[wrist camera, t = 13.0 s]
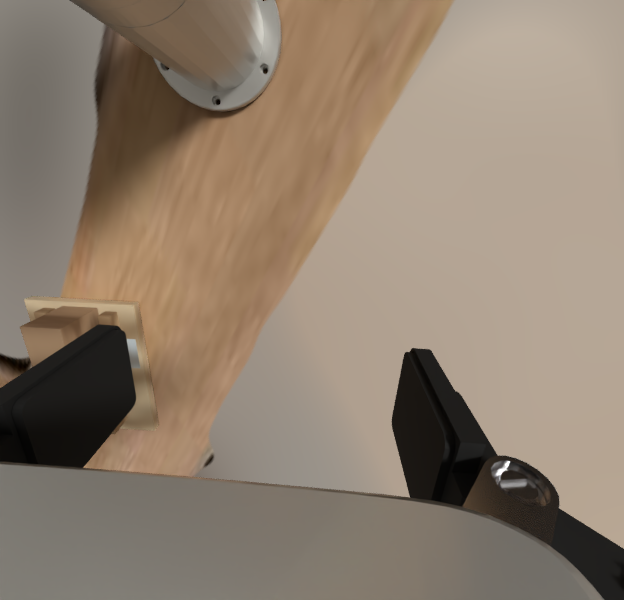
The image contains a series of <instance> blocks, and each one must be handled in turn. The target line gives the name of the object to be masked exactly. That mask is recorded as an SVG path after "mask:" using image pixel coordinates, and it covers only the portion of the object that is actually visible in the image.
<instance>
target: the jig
mask: <svg viewBox="0 0 624 600" xmlns="http://www.w3.org/2000/svg"><path fill="white" fill-rule="evenodd" d="M24 301H25V304H26V307H27V311H28V314H29V317H30V321H33V320H35V319H37V318H39V317H41V316H43V315H45V314H47V313H49V312H51V311H53V310H55V309H57V308H59V307H61V306H73V307H90V308H97V309H98V313H99V315H98V316H97V317H98V321H99V324H102V325H115V326H119V327H120V328H121V330H123V331H124V332H125V334H126V339H127V345H128V350H129V356H130V362H131V368H132V374H133V380H134V386H135V392H136V402H135V405H134V407H133V408H132V409H131V411H130V412H129V413H128V414H127V415H126V417H125V418H124V419H123V420H122V421H121V423H120V424H119V425H118V426H117V427H116V429H115V430H114V431H113V432H112V433H111V434H115V433H116V432H117V431H118V430H119V429H134V430H149V431H155V430H156V429H157V427H158V426H159V422H158V416H157V410H156V404H155V398H154V392H153V386H152V380H151V374H150V368H149V362H148V356H147V350H146V344H145V338H144V332H143V326H142V320H141V314H140V308H139V302H130V301H112V300H94V299H77V298H58V297H40V296H31V297H29V298H26V299H24Z"/></svg>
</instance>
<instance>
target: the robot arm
mask: <svg viewBox="0 0 624 600" xmlns="http://www.w3.org/2000/svg"><path fill="white" fill-rule="evenodd" d="M70 1H71V2H73V3H74V4H76V5H77V6H79V7H80V8H82V9H83V10H85V11H86V12H88V13H89V14H91V15H92V16H93V17H95V18H96V19H98V20H99V21H101V22H102V23H104V24H105V25H107V26H108V27H109V28H111V29H112V30H114V31H115V32H117V33H118V34H120V35H121V36H123V37H124V38H126V39H127V40H129V41H130V42H132V43H133V44H134V45H136V46H137V47H139V48H140V49H142V50H143V51H145V52H146V53H148V54H149V55H151V56H152V57H153V59H154V61H155V63H156V65H157V67H158V69H159V71H160V73H161V74H162V76H163V77H164V78H165V80H166V81H167V82H168V84H169V85H170V86H171V87H172V88H173V89H174V90H175V91H176V92H177V93H178V94H179V95H180V96H182V97H183V98H185V99H186V100H188V101H189V102H191V103H193V104H195V105H197V106H199V107H201V108H204V109H208V110H211V111H221V112H224V111H232V110H236V109H239V108H241V107H244V106H246V105H248V104H249V103H251V102H252V101H254V100H255V99H256V98H257V97H258V96H259V95H260V94H261V93H262V92H263V91H264V90H265V89H266V87H267V86H268V84H269V83H270V81H271V80H272V77H273V75H274V73H275V71H276V68H277V65H278V61H279V57H280V53H281V41H282V34H281V21H280V17H279V12H278V8H277V5H276V2H275V0H266V1H262V0H70ZM167 67H168V68H169V70H167ZM264 69H268V73H267V74H264V73H263V71H264ZM218 100H220V101H221V103H220V105H218V104H217V101H218ZM135 402H136V392H135V386H134V380H133V374H132V368H131V362H130V356H129V350H128V345H127V339H126V334H125V332H124V331H123V330H121V328H120V327H119V326H115V325H102V324H99V325H96V326H95V327H93V328H92V329H90V330H89V331H87V332H86V333H84V334H83V335H81V336H80V337H78V338H76V339H75V340H73V341H72V342H70V343H69V344H67V345H66V346H64V347H63V348H61V349H60V350H58V351H57V352H55V353H54V354H52V355H50V356H49V357H47V358H46V359H44V360H43V361H41V362H40V363H38V364H37V365H35V366H34V367H32V368H31V369H29V370H27V371H26V372H24V373H23V374H21V375H20V376H18V377H17V378H15V379H14V380H12V381H11V382H9V383H8V384H6V385H5V386H3V387H1V388H0V600H624V549H623V548H621V547H620V546H618V545H617V544H615V543H613V542H612V541H610V540H609V539H607V538H605V537H604V536H602V535H601V534H599V533H597V532H596V531H594V530H593V529H591V528H590V527H588V526H586V525H585V524H583V523H581V522H580V521H578V520H577V519H575V518H574V517H572V516H570V515H569V514H567V513H566V512H564V511H562V510H561V509H559V496H558V493H557V491H556V489H555V487H554V486H553V485H552V483H551V482H550V481H549V480H548V479H547V477H545V476H544V475H543V474H542V473H541V472H540V471H538V470H537V469H535V468H534V467H532V466H531V465H529V464H527V463H526V462H523V461H521V460H519V459H516V458H512V457H509V456H498V455H497V454H496V452H495V451H494V449H493V447H492V446H491V444H490V442H489V441H488V439H487V437H486V436H485V434H484V433H483V431H482V429H481V428H480V426H479V424H478V422H477V421H476V419H475V418H474V416H473V414H472V413H471V411H470V409H469V408H468V406H467V404H466V403H465V401H464V399H463V398H462V396H461V395H460V394H459V393H458V392H455V390H454V389H453V387H452V385H451V384H450V382H449V380H448V379H447V377H446V375H445V373H444V372H443V370H442V368H441V367H440V365H439V363H438V362H437V360H436V358H435V357H434V355H433V353H432V351H431V350H429V349H416V348H412V349H411V351H410V352H406V353H405V354H404V359H403V364H402V369H401V374H400V379H399V384H398V390H397V395H396V400H395V406H394V410H393V416H392V428H393V432H394V436H395V440H396V444H397V448H398V452H399V456H400V460H401V464H402V467H403V471H404V475H405V479H406V482H407V487H408V491H409V495H410V498H409V497H401V496H393V495H386V494H375V493H364V492H354V491H345V490H334V489H323V488H312V487H301V486H290V485H279V484H268V483H257V482H246V481H235V480H223V479H222V480H221V479H211V478H200V477H199V478H198V477H188V476H176V475H164V474H152V473H140V472H128V471H116V470H103V469H90V468H83V467H84V466H85V465H86V463H87V462H88V461H89V460H90V459H91V457H92V456H93V455H94V454H95V453H96V451H97V450H98V449H99V448H100V447H101V445H102V444H103V443H104V442H105V441H106V439H107V438H108V437H109V436H110V435H111V433H112V432H113V431H114V430H115V429H116V427H117V426H118V425H119V424H120V423H121V421H122V420H123V419H124V418H125V417H126V415H127V414H128V413H129V412H130V411H131V409H132V408H133V407H134V405H135Z"/></svg>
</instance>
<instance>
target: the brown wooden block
mask: <svg viewBox="0 0 624 600" xmlns="http://www.w3.org/2000/svg"><path fill="white" fill-rule="evenodd" d="M98 315H99V313H98V309H97V308H90V307H73V306H61V307H59V308H57V309H55V310H53V311H51V312H49V313H47V314H45V315H43V316H41V317H39V318H37V319H35V320H33V321H31V322H29V323H27V324H24V325H22V326H21V327H20V329H21V332H22V335H23V338H24V341H25V345H26V347H27V351H28V354H29V357H30V360H31V363H32V366H33V367H34V366H35V365H37V364H38V363H40V362H41V361H43V360H44V359H46V358H47V357H49V356H50V355H52V354H54V353H55V352H57V351H58V350H60V349H61V348H63V347H64V346H66V345H67V344H69V343H70V342H72V341H73V340H75V339H76V338H78V337H80V336H81V335H83V334H84V333H86V332H87V331H89V330H90V329H92V328H93V327H95V326H96V325H99V321H98V317H97V316H98Z"/></svg>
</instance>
